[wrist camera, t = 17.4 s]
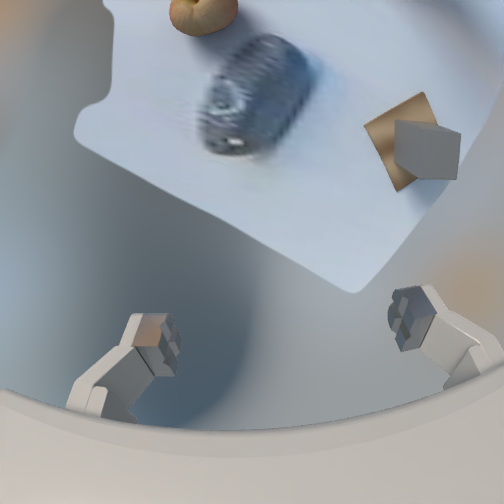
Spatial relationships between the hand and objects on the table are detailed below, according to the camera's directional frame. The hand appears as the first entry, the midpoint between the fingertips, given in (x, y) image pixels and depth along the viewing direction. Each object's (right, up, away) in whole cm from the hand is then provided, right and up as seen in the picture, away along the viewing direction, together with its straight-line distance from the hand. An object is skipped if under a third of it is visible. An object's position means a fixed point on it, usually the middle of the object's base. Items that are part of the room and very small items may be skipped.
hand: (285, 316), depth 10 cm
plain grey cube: (+23, +19, +25) cm, 39 cm away
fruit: (-7, +33, +16) cm, 37 cm away
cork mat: (+23, +19, +25) cm, 39 cm away
